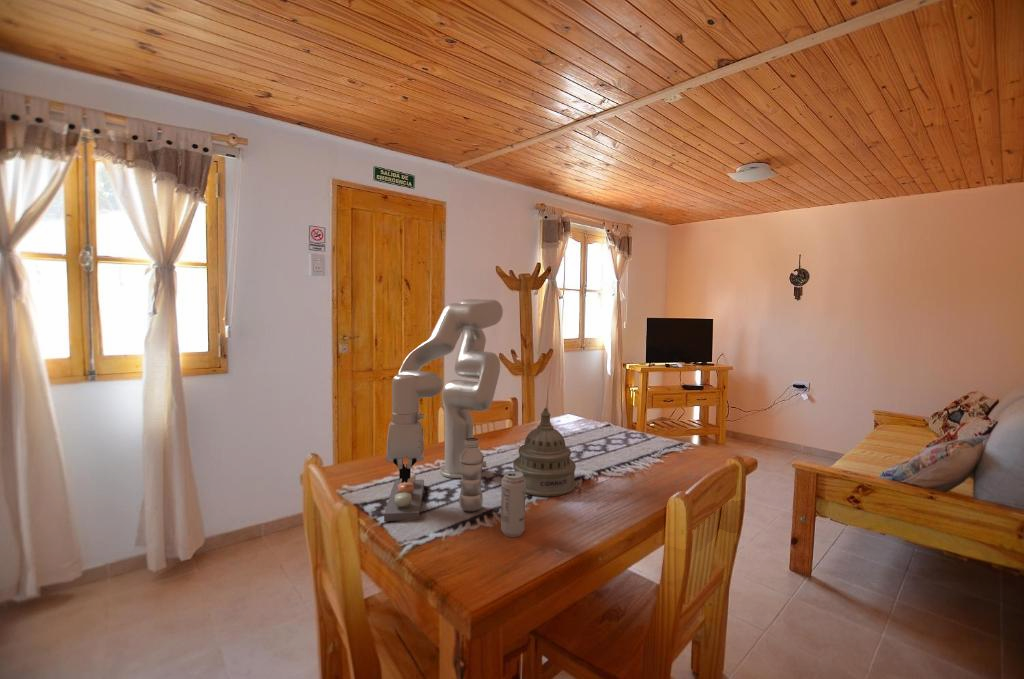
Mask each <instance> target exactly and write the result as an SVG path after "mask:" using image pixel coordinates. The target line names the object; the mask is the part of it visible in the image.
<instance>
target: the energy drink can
mask: <svg viewBox="0 0 1024 679" xmlns="http://www.w3.org/2000/svg"><path fill="white" fill-rule="evenodd" d="M525 483H526V481H525V479H524V477H523V473H521V472H518V471H514V470H510V471H506V472H504V474H503V477H502V479H501V493H500V494H501V497H500V498H501V501H500V503H501V506H500V507H501V509H500V530H501V531H502V534H503V535H504V536H507V537H511V538H515V537H516V538H517V537H520V536H521V535H522V534H523V532H524V531H525V526H526V524H525V523H526V521H525V520H526V493H525Z"/></svg>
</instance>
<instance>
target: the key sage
mask: <svg viewBox="0 0 1024 679" xmlns="http://www.w3.org/2000/svg"><path fill="white" fill-rule="evenodd" d="M410 504H411V494H410V493H399V494H396V495H395V505H396V506H408V505H410Z"/></svg>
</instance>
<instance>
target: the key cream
mask: <svg viewBox="0 0 1024 679" xmlns="http://www.w3.org/2000/svg"><path fill="white" fill-rule="evenodd" d="M416 476H417V475H416V474H415V473H414V472H411V476H410V479H408V482H411V483H415V482H416V480H417V478H416ZM400 480H401V483H402V479H400ZM404 482H405V481H404Z"/></svg>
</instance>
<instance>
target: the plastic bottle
mask: <svg viewBox="0 0 1024 679" xmlns="http://www.w3.org/2000/svg"><path fill="white" fill-rule="evenodd" d="M479 445H480V443H479V438H477V437H473V438H466V439H465V447H466V448H465V449H464V451H463V452H462V454H461V456H460V465H461V476H462V478H461V486H460V493H459V497H458V504H459V508H460V509H461V510H463V511H465V512H476V511H479V510H480V509H481V508H482V506H483V502H484V498H483V493H482V492H483V490H482V472H483V467H482V466H483V461H484V455H483V453H482V451H481V450H480V448H479Z"/></svg>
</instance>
